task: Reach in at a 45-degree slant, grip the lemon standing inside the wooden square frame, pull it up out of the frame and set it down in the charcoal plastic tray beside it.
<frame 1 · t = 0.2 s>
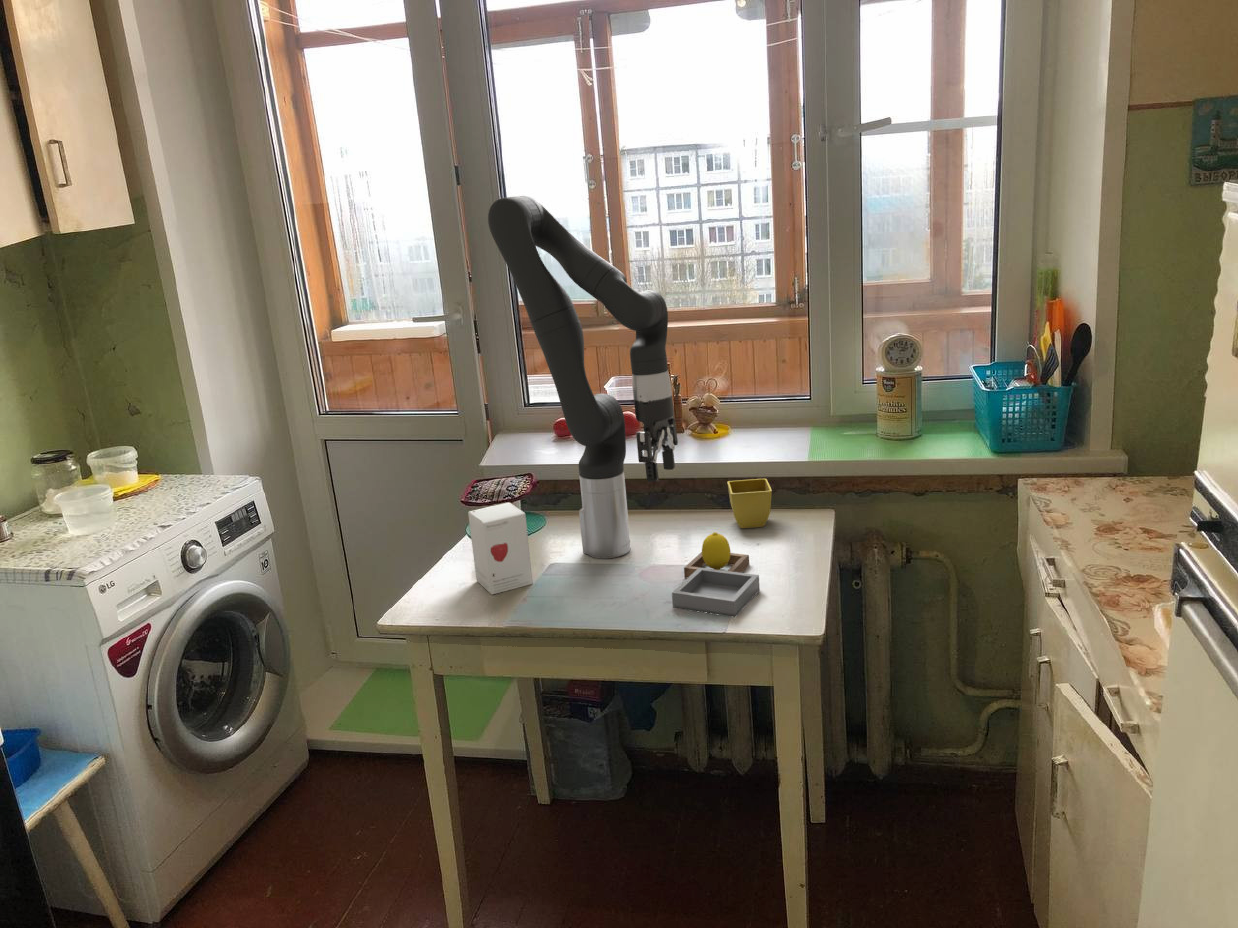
hand: (661, 475, 191), 18 cm above the table, tool pointing down, fingers open, 8 cm apart
supplement box: (505, 583, 191), on the table
charcoal tray: (716, 598, 175), on the table
lemon: (717, 571, 188), resting in wooden square frame
flower pot: (751, 525, 211), on the table
wooden square frame: (717, 570, 188), on the table
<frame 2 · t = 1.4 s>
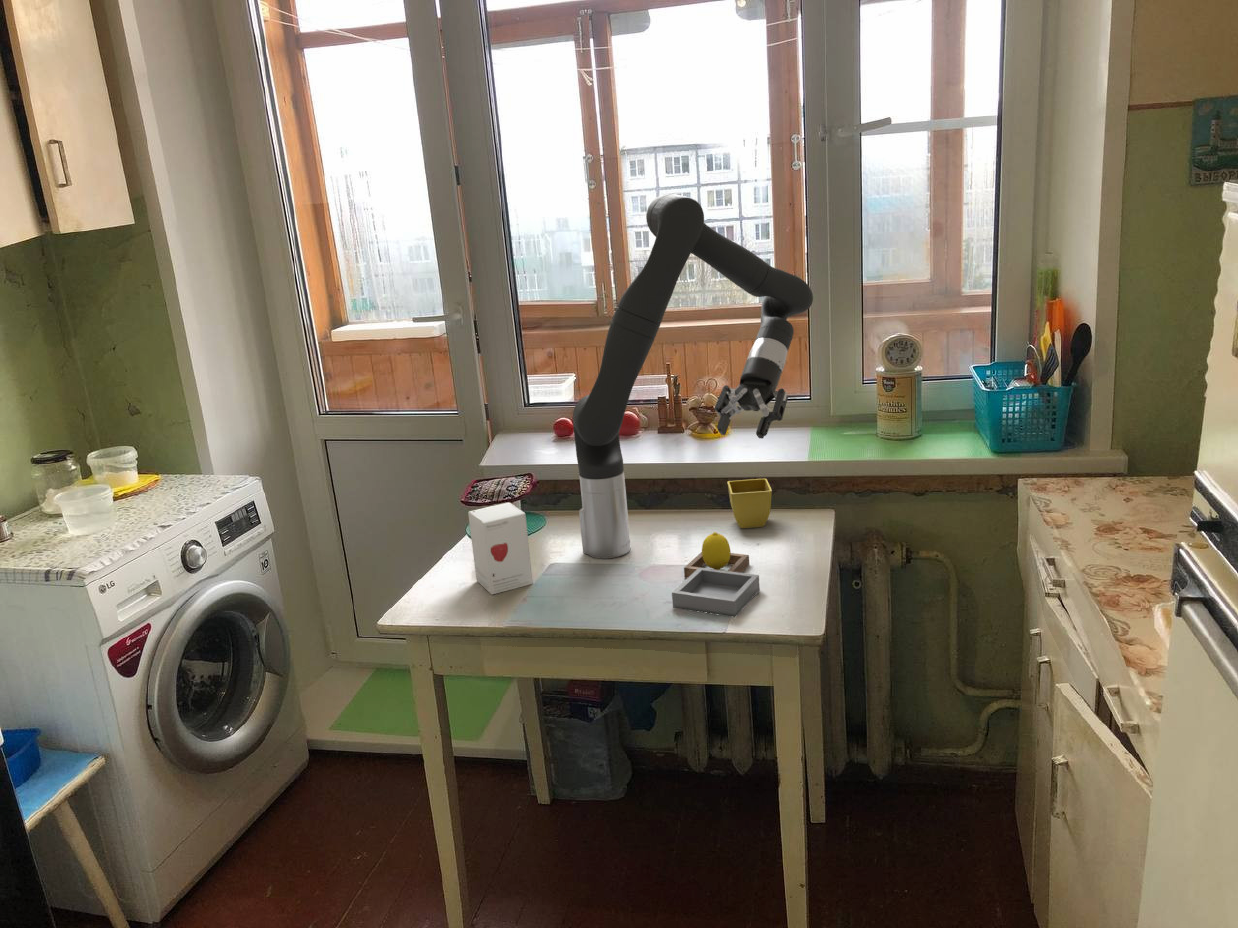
hand: (740, 434, 190), 25 cm above the table, tool tilted 45°, fingers open, 8 cm apart
nothing on the table moved.
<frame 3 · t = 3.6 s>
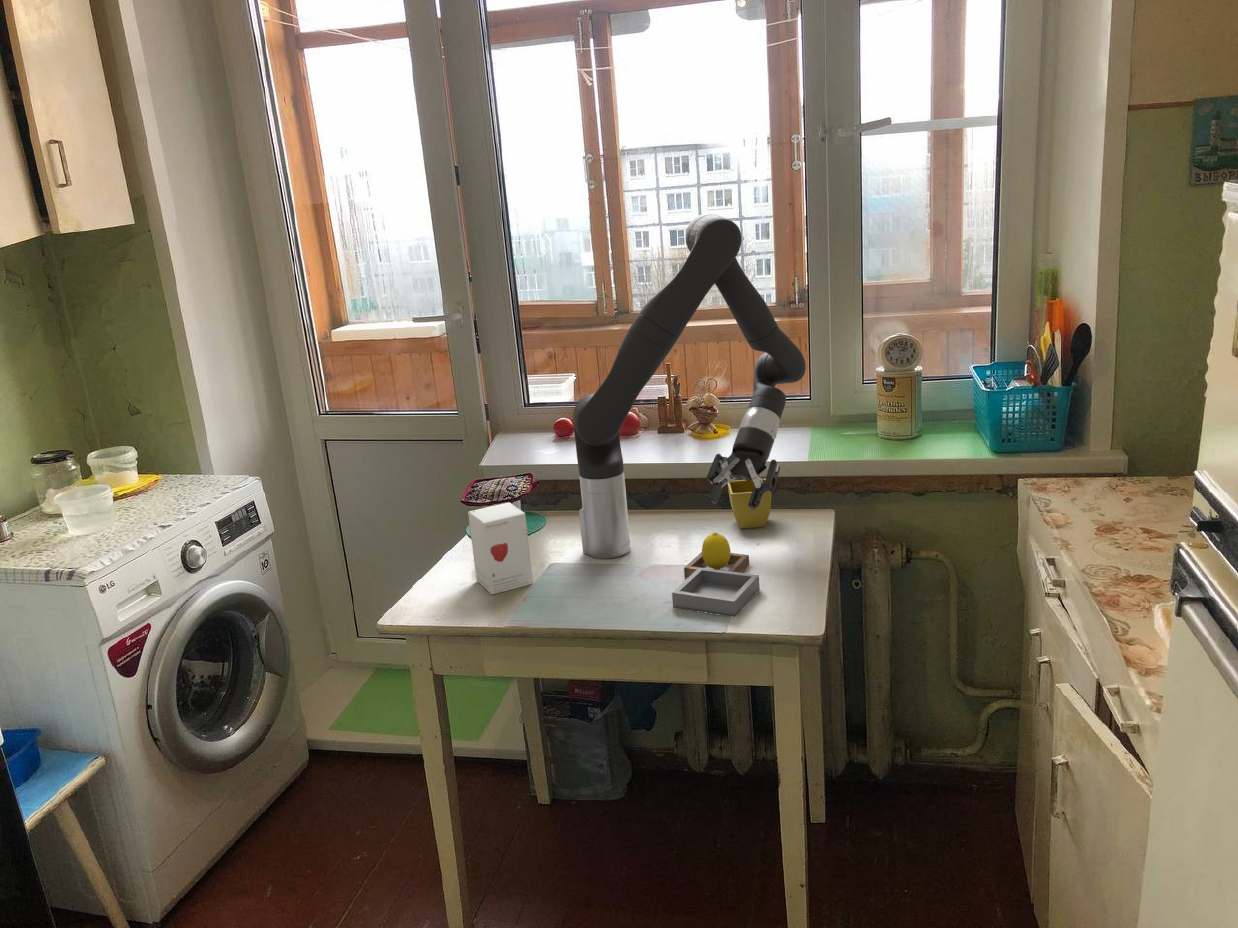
hand: (732, 505, 190), 11 cm above the table, tool tilted 45°, fingers open, 8 cm apart
nothing on the table moved.
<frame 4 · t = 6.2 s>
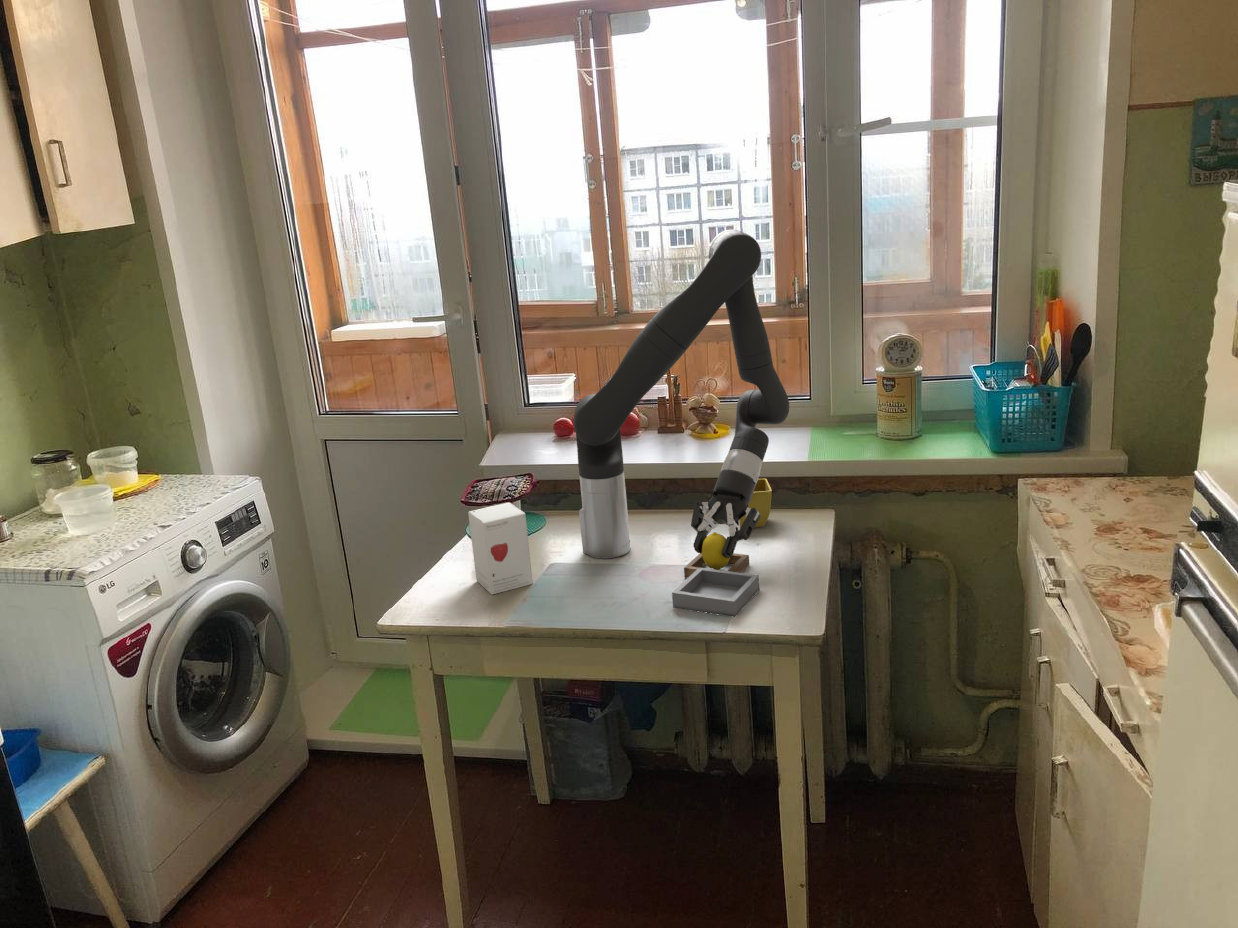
hand: (711, 553, 185), 4 cm above the table, tool tilted 45°, fingers closed on lemon, 5 cm apart
lemon: (717, 571, 188), resting in wooden square frame, touching gripper
everything else where it was.
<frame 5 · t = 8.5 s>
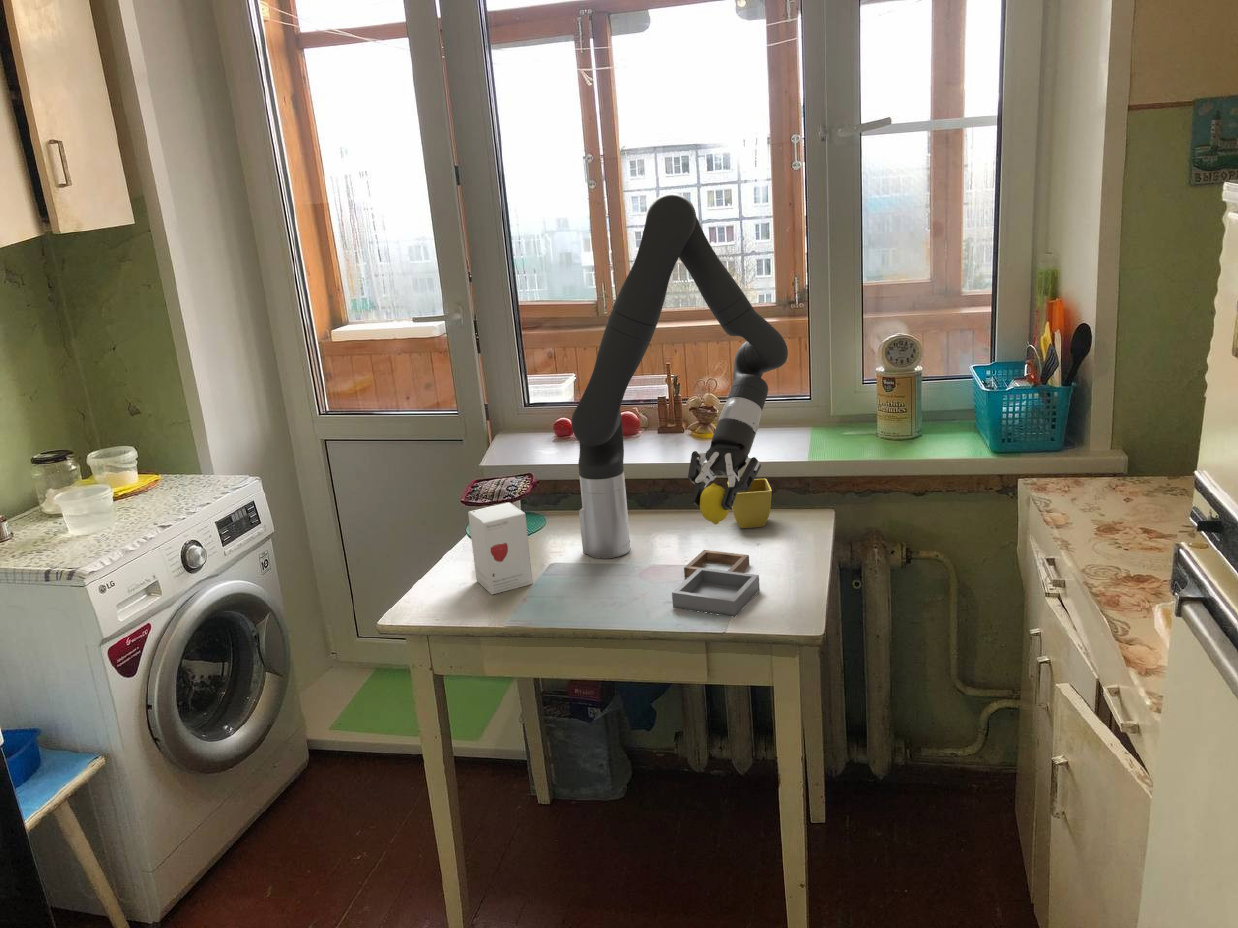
hand: (710, 505, 176), 16 cm above the table, tool tilted 45°, fingers closed on lemon, 5 cm apart
lemon: (715, 525, 179), point 12 cm above the table, touching gripper
everything else where it was.
when the fingers open (6 cm above the table, at t = 11.3 s): lemon drops 1 cm, resting on charcoal tray.
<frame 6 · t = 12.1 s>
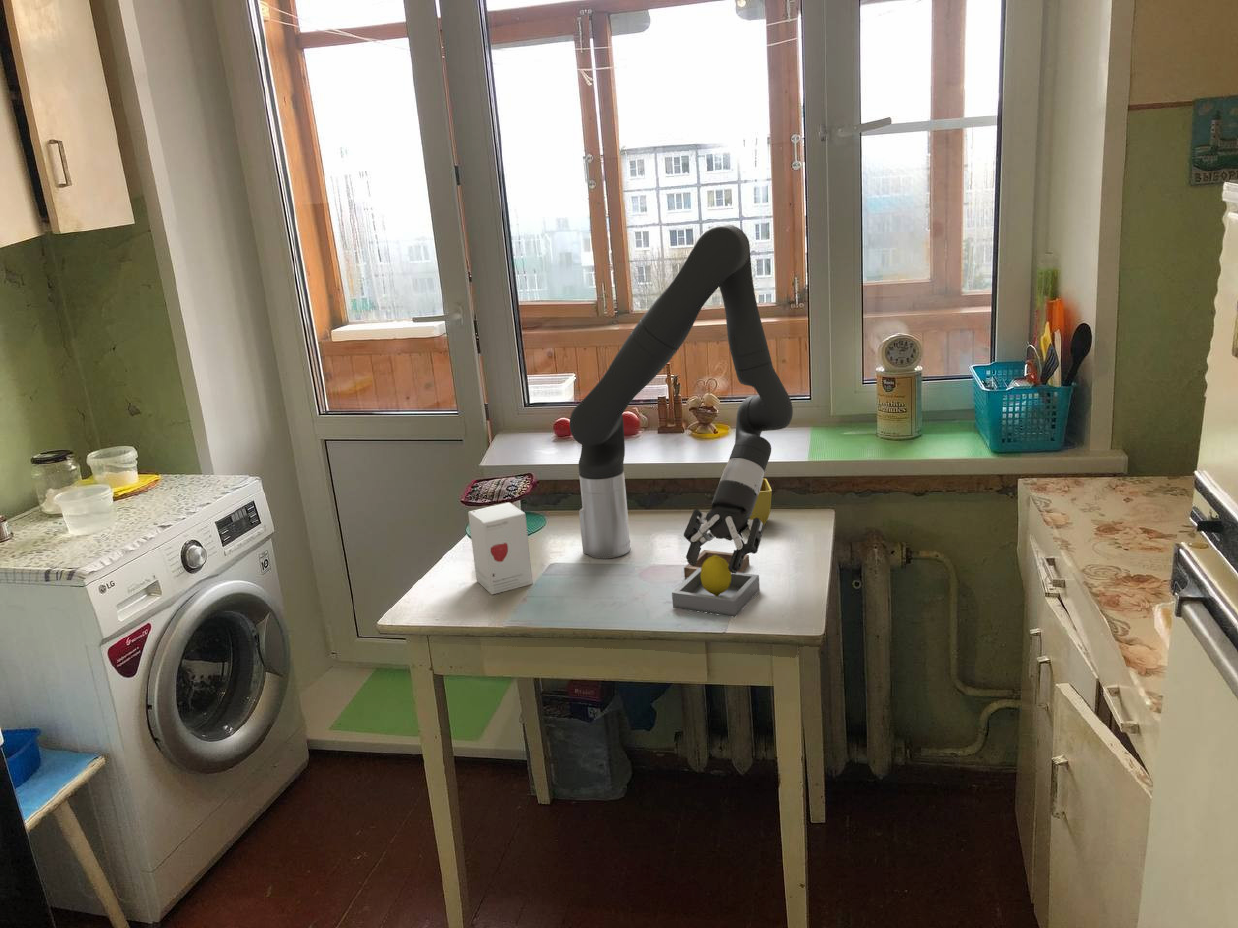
hand: (711, 567, 172), 7 cm above the table, tool tilted 45°, fingers open, 8 cm apart
lemon: (716, 596, 175), resting on charcoal tray
everything else where it was.
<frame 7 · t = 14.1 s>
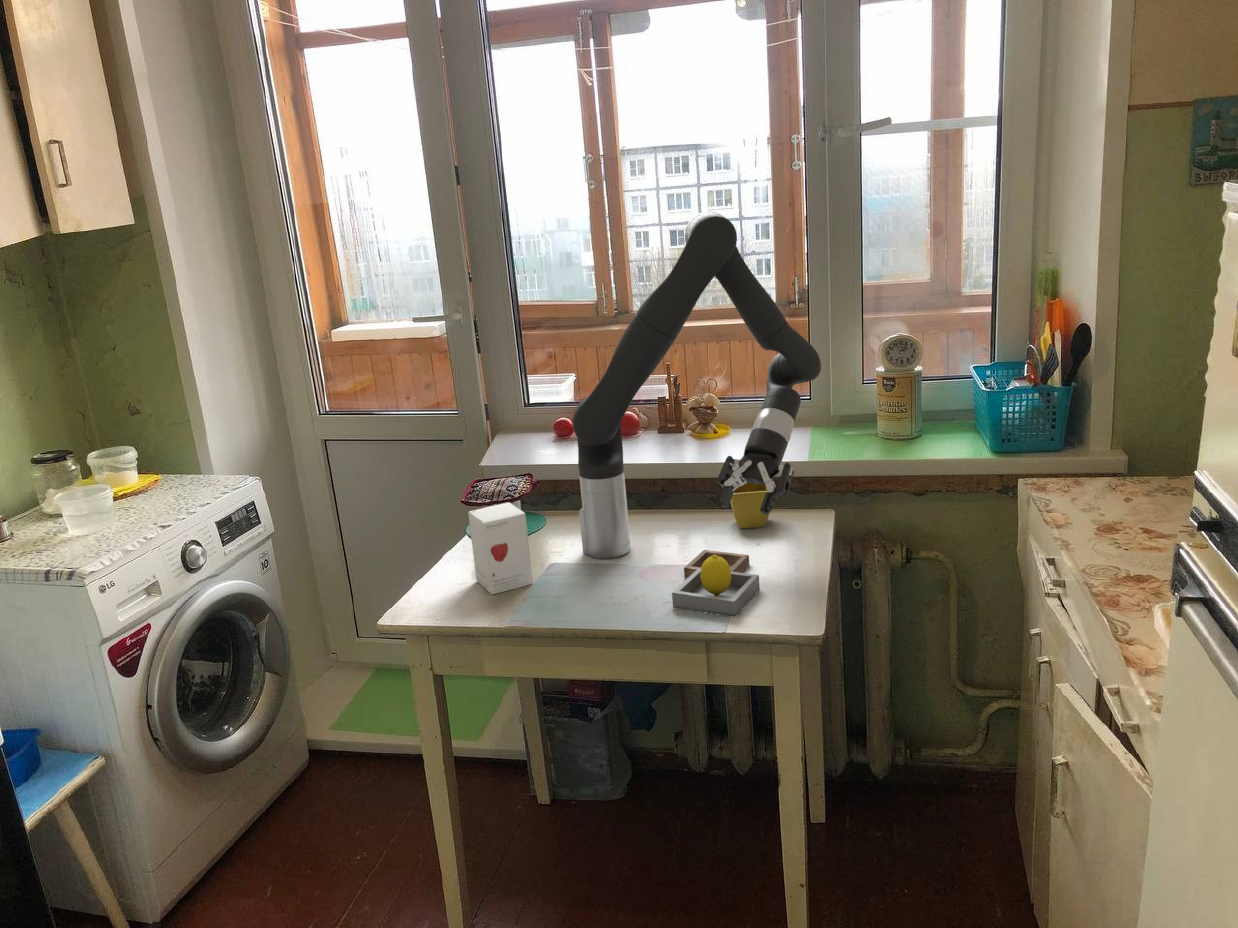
hand: (743, 509, 183), 13 cm above the table, tool tilted 45°, fingers open, 8 cm apart
nothing on the table moved.
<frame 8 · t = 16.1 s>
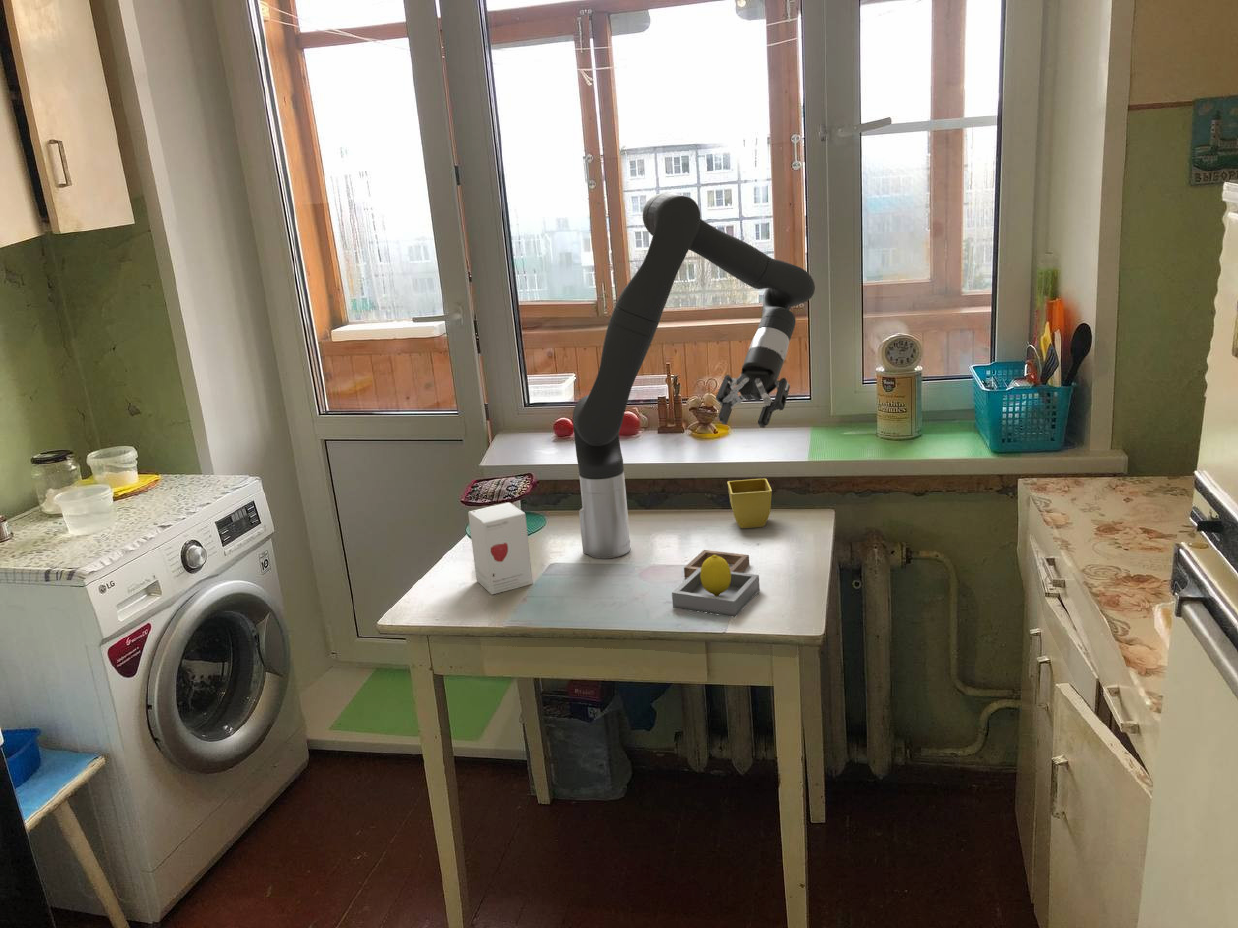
hand: (741, 424, 189), 27 cm above the table, tool tilted 45°, fingers open, 8 cm apart
nothing on the table moved.
at the end: lemon inside the target area on the charcoal tray (0.2 cm from its centre), point 0.3 cm above the charcoal tray's base; the gripper is holding nothing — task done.
